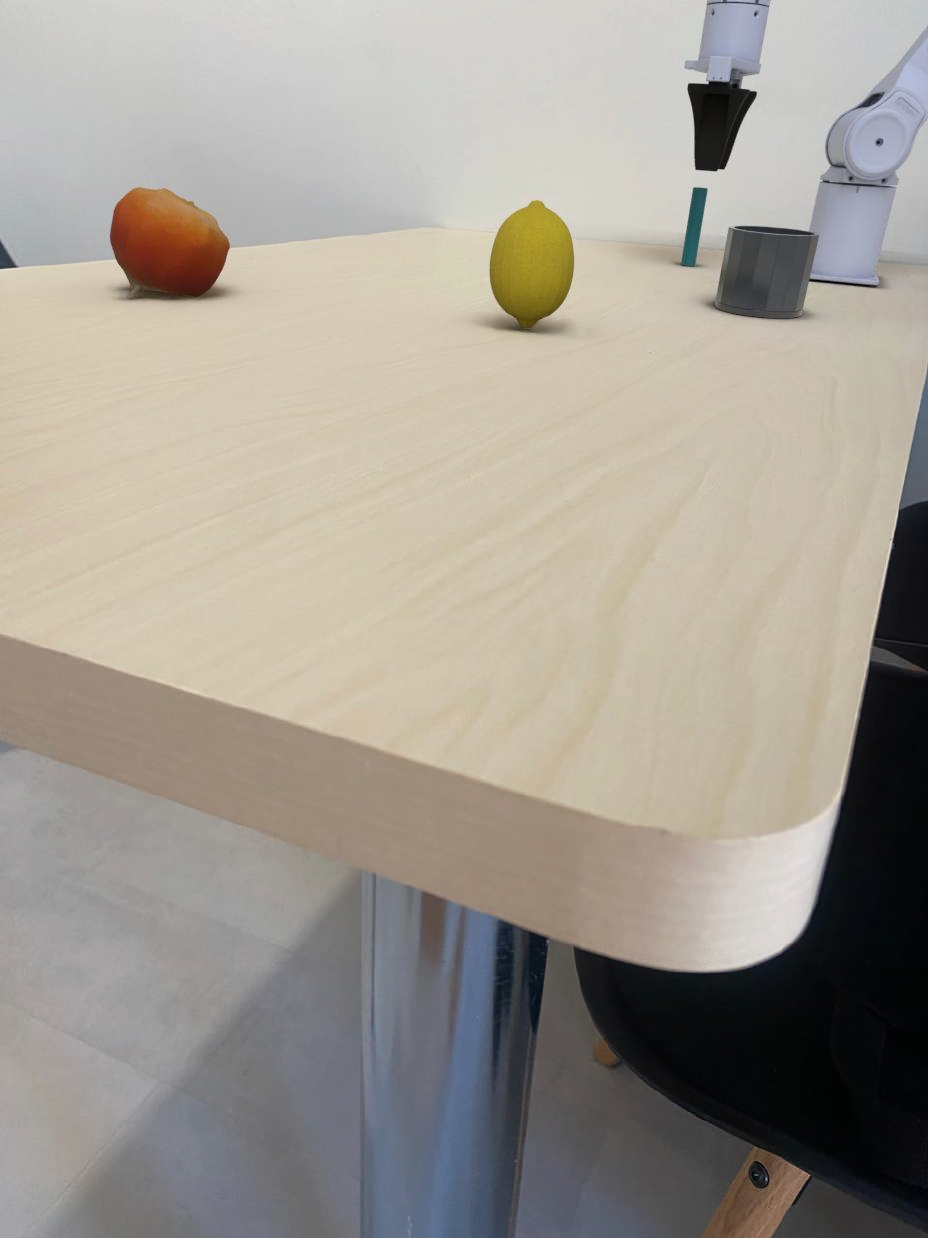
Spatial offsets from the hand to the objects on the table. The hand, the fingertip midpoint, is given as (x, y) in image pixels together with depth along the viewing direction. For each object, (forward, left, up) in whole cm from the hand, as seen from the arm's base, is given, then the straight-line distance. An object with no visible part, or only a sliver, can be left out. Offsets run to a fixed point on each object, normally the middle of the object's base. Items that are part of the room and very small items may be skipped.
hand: (710, 169), depth 91 cm
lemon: (+42, -6, -9) cm, 44 cm away
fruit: (+45, -32, -9) cm, 56 cm away
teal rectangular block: (-2, -1, -9) cm, 9 cm away
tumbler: (+23, +8, -9) cm, 26 cm away
